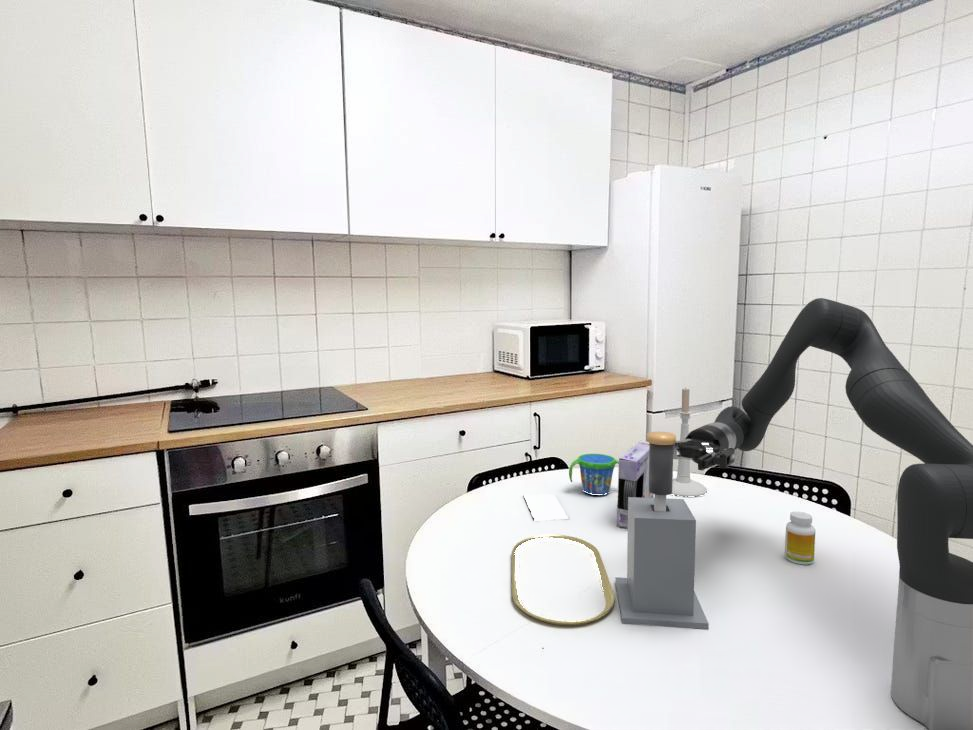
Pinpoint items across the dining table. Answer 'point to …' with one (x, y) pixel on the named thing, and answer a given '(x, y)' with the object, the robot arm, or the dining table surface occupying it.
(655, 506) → the plunger
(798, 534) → the supplement bottle
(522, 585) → the dining table surface
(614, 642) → the dining table surface
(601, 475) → the snack cup
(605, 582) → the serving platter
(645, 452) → the cake pan box
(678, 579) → the column
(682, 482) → the candlestick
